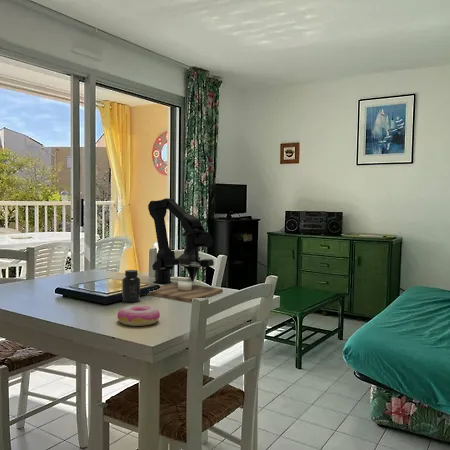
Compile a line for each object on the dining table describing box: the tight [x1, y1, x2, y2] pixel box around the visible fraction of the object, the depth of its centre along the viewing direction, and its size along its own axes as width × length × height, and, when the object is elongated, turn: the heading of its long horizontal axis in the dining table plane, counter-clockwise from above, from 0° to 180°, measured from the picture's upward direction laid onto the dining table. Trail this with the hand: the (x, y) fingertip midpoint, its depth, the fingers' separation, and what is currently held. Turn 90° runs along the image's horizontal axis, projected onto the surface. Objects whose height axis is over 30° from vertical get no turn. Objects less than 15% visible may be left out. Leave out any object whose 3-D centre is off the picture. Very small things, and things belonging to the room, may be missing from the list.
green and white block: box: [177, 277, 193, 291], centre depth 197 cm, size 13×6×3 cm, turn 170°
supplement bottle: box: [121, 269, 141, 304], centre depth 177 cm, size 7×7×12 cm
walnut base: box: [147, 281, 224, 304], centre depth 194 cm, size 24×24×2 cm
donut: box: [117, 304, 161, 327], centre depth 150 cm, size 14×13×5 cm
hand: (192, 281), depth 201 cm, fingers closed
